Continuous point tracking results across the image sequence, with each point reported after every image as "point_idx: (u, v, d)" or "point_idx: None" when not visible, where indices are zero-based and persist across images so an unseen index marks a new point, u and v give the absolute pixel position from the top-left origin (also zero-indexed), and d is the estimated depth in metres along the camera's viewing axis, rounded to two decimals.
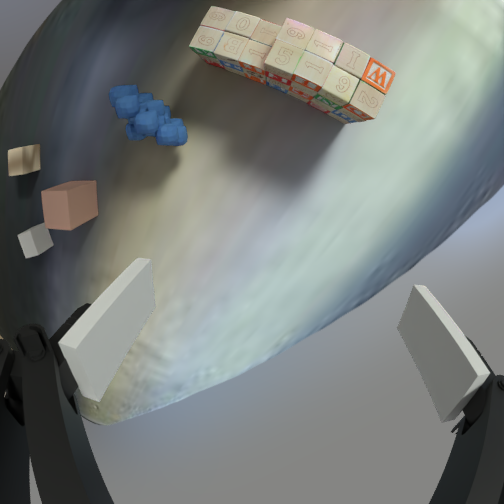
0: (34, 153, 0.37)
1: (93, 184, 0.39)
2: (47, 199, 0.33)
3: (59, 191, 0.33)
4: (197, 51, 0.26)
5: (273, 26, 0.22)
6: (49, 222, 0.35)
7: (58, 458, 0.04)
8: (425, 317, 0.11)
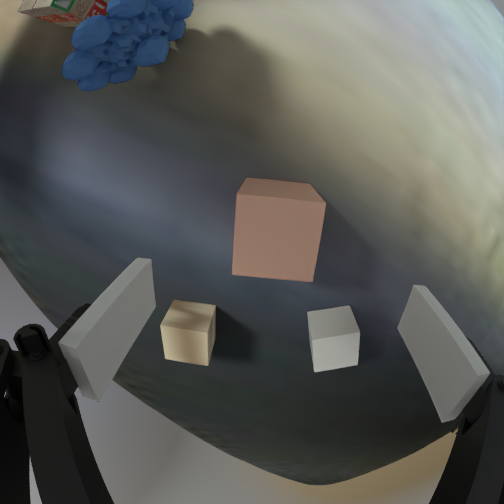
0: (183, 309, 0.30)
1: (251, 179, 0.25)
2: (251, 259, 0.20)
3: (237, 218, 0.19)
4: (64, 7, 0.12)
5: None
6: (302, 266, 0.20)
7: (58, 458, 0.04)
8: (425, 317, 0.11)
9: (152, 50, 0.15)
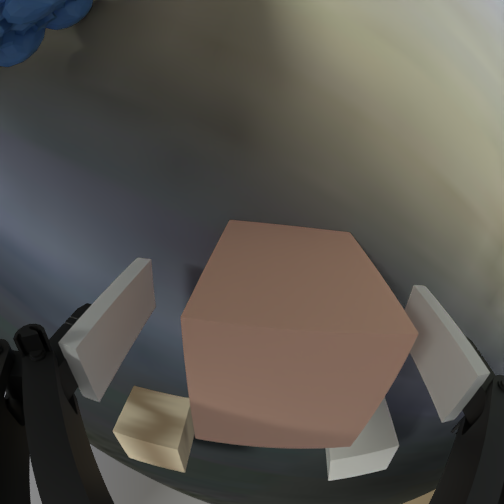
0: (146, 404, 0.18)
1: (238, 226, 0.13)
2: (231, 426, 0.08)
3: (190, 365, 0.07)
4: None
5: None
6: (336, 434, 0.08)
7: (58, 458, 0.04)
8: (425, 317, 0.11)
9: None
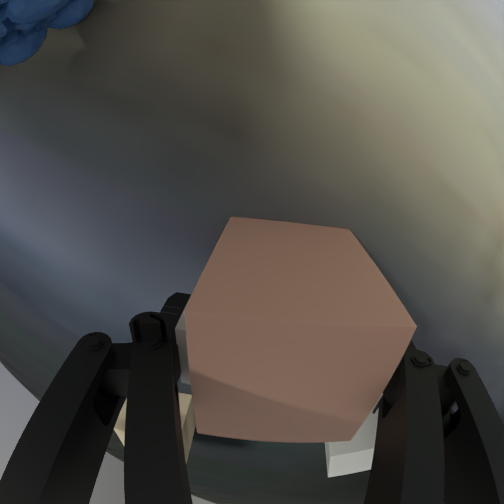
0: None
1: (239, 223, 0.13)
2: (232, 420, 0.08)
3: (193, 358, 0.07)
4: None
5: None
6: (336, 427, 0.08)
7: (160, 454, 0.04)
8: None
9: None
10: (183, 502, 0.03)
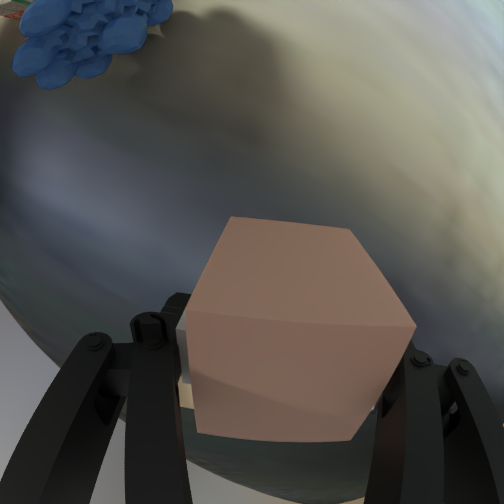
0: None
1: (239, 223, 0.13)
2: (232, 420, 0.08)
3: (193, 357, 0.07)
4: (29, 1, 0.08)
5: None
6: (336, 427, 0.08)
7: (160, 454, 0.04)
8: None
9: (122, 31, 0.10)
10: (184, 502, 0.03)
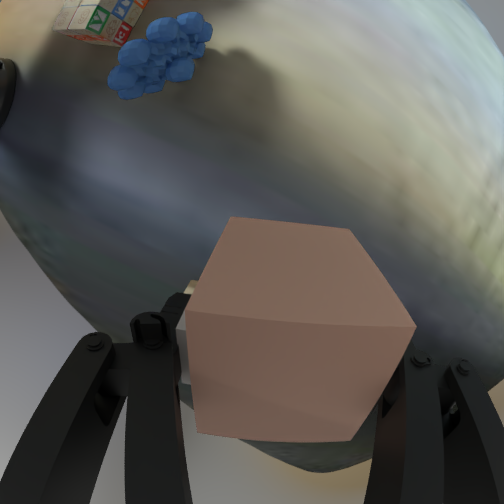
0: None
1: (239, 223, 0.13)
2: (232, 420, 0.08)
3: (193, 358, 0.07)
4: (97, 29, 0.19)
5: None
6: (336, 427, 0.08)
7: (160, 454, 0.04)
8: None
9: (182, 69, 0.21)
10: (183, 502, 0.03)
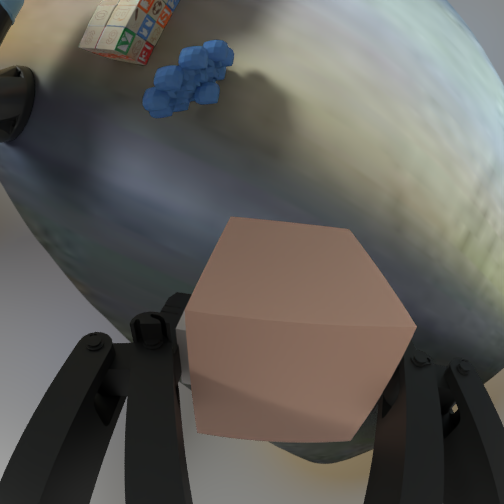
0: None
1: (239, 223, 0.13)
2: (232, 420, 0.08)
3: (193, 358, 0.07)
4: (124, 50, 0.23)
5: None
6: (336, 428, 0.08)
7: (160, 454, 0.04)
8: None
9: (210, 94, 0.25)
10: (184, 502, 0.03)
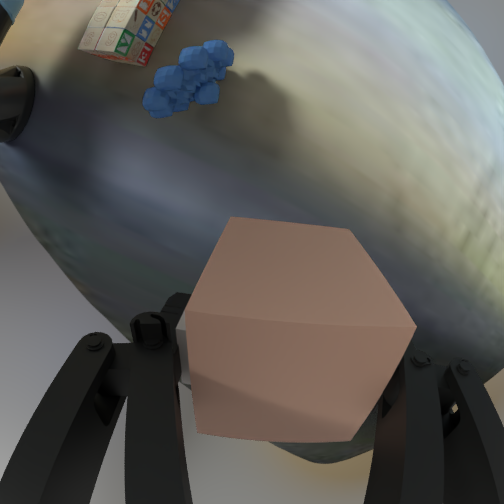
0: None
1: (239, 223, 0.13)
2: (232, 420, 0.08)
3: (193, 358, 0.07)
4: (123, 52, 0.23)
5: None
6: (336, 428, 0.08)
7: (160, 454, 0.04)
8: None
9: (210, 94, 0.25)
10: (184, 502, 0.03)
